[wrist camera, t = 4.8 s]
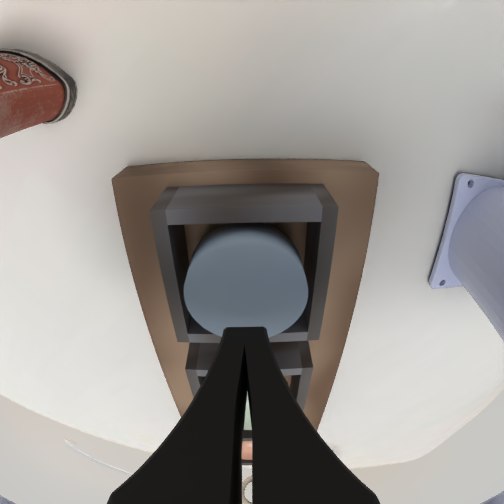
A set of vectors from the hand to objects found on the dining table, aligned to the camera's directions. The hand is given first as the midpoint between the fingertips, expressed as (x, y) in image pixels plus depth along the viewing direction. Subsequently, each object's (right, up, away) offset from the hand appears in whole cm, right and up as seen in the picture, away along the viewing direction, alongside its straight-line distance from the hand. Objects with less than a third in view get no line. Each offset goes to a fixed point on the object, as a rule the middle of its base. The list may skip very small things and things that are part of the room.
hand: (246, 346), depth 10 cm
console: (0, -3, +11) cm, 11 cm away
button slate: (0, +2, +3) cm, 4 cm away
